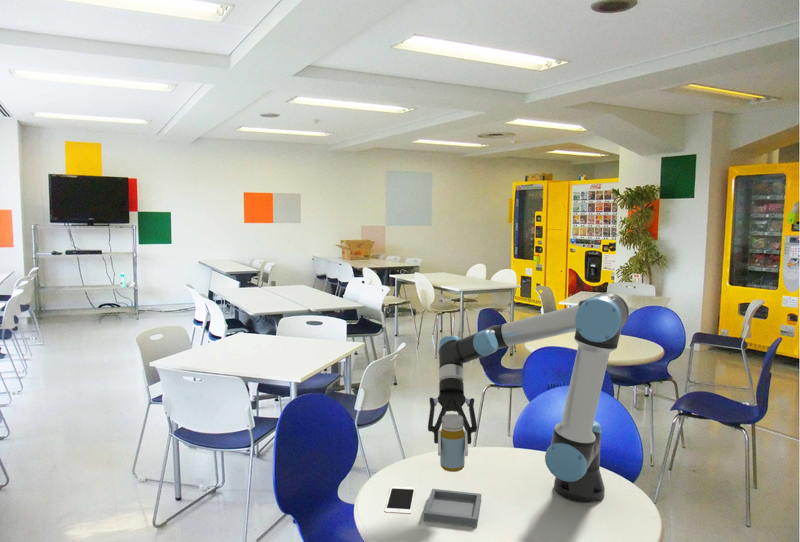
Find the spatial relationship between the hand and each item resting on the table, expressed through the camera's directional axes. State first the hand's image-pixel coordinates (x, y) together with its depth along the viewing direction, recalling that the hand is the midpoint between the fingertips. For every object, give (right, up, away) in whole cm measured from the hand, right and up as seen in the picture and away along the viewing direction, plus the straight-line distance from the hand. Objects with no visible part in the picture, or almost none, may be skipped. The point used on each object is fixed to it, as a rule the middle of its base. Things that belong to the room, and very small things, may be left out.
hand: (452, 454), depth 166 cm
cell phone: (-15, -18, +11) cm, 26 cm away
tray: (0, -18, +4) cm, 18 cm away
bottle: (0, -5, +4) cm, 7 cm away
